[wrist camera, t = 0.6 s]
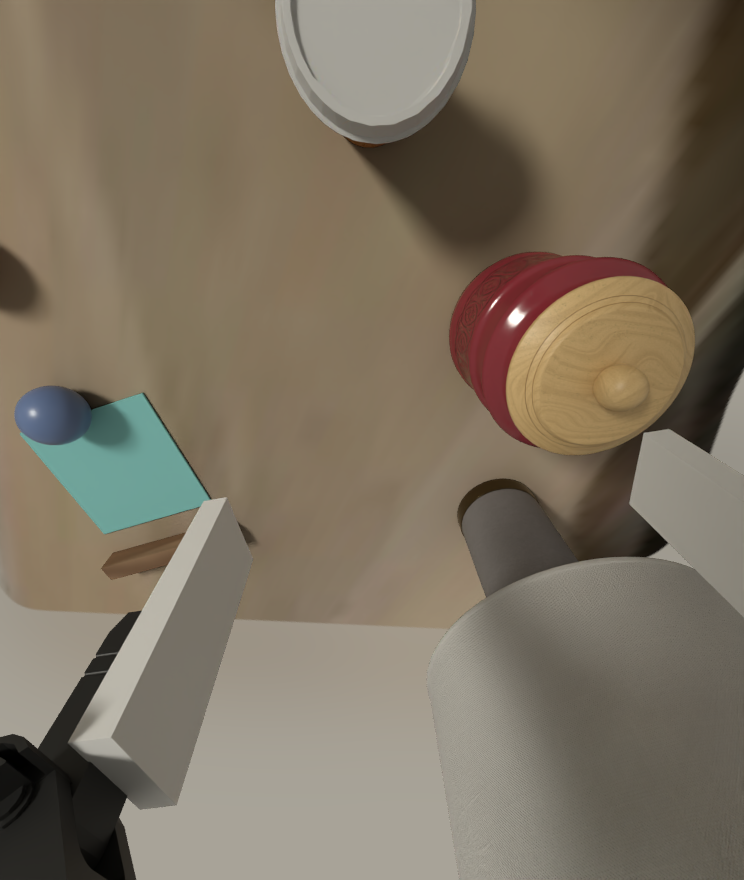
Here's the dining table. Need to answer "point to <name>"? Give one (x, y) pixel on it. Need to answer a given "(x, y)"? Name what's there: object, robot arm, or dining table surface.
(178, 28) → the dining table surface
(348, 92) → the disposable coffee cup
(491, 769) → the lamp
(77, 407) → the object ball
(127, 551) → the wall
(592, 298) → the canister
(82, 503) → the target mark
